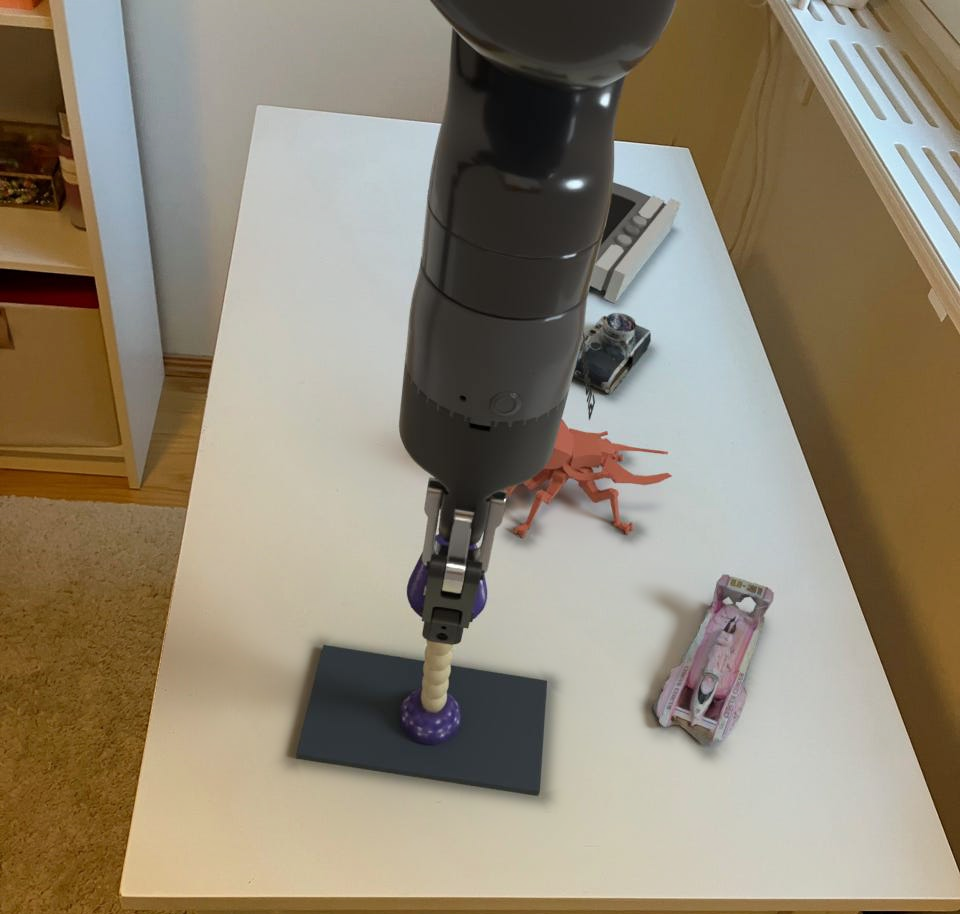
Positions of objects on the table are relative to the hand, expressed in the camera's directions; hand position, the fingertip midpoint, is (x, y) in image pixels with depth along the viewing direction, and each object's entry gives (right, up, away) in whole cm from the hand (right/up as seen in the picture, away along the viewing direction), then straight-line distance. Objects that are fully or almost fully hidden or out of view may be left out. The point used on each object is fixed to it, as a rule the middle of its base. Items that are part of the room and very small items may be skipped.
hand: (447, 600), depth 58 cm
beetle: (+10, +10, +26) cm, 30 cm away
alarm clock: (+12, +41, +50) cm, 66 cm away
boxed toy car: (+19, -5, +16) cm, 25 cm away
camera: (+14, +24, +37) cm, 47 cm away
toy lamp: (-2, -8, +10) cm, 13 cm away
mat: (-2, -8, +10) cm, 13 cm away
